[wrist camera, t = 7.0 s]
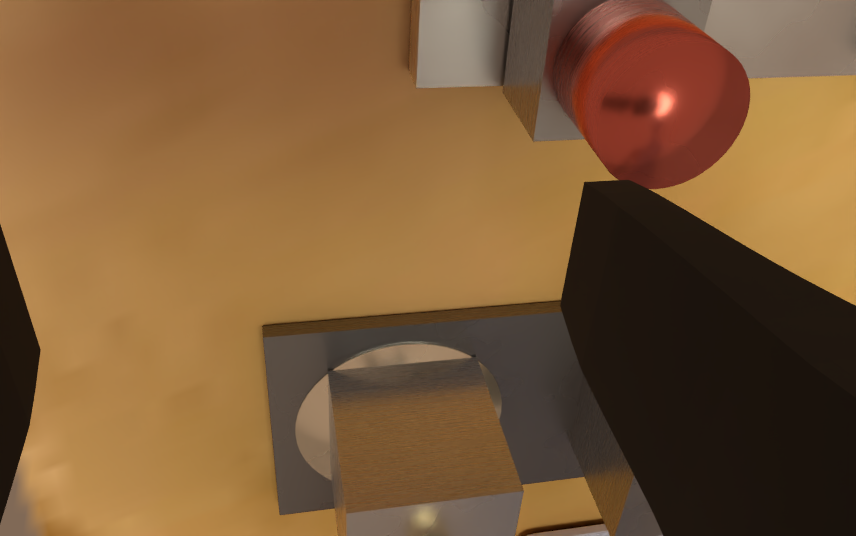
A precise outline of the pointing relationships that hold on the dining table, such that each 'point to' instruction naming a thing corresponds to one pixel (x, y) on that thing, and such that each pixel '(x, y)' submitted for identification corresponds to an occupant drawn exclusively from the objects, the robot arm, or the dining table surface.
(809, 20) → the lever rail
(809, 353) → the robot arm
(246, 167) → the dining table surface
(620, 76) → the lever
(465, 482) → the block
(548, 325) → the plate
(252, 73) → the dining table surface
